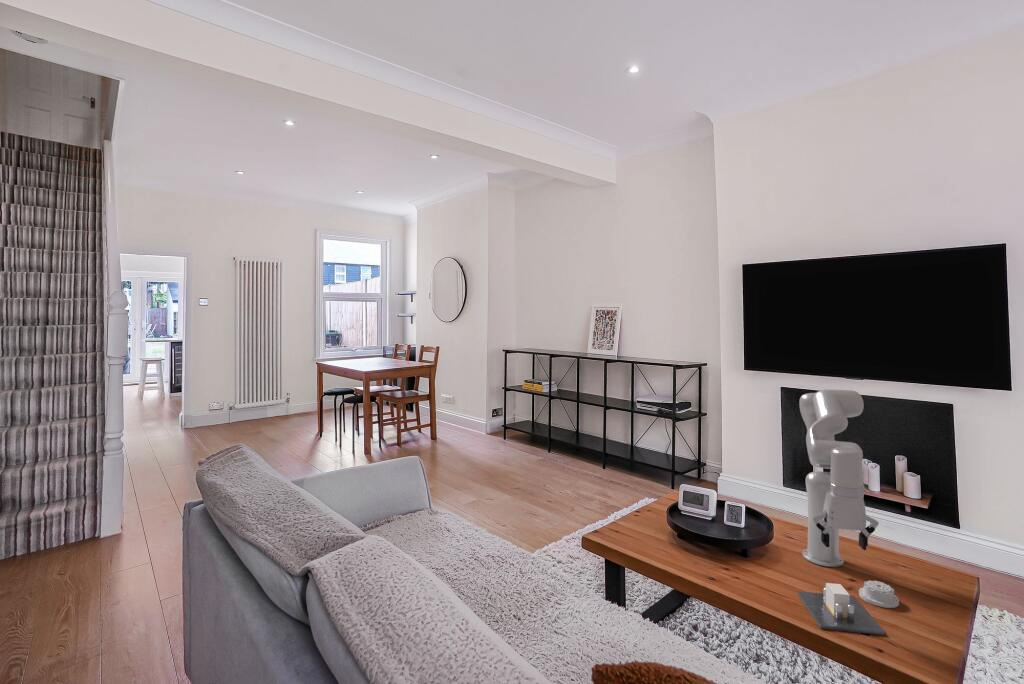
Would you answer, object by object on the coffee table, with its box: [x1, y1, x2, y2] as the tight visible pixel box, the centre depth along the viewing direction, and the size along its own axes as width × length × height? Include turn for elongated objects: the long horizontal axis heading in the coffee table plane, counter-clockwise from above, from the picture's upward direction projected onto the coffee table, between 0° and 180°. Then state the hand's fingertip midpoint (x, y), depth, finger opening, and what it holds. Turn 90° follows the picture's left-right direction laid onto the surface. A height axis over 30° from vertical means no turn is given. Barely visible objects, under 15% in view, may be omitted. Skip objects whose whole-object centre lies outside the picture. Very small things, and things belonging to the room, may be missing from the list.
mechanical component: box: [858, 580, 900, 609], centre depth 154 cm, size 10×4×10 cm
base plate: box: [797, 586, 886, 636], centre depth 147 cm, size 18×16×5 cm
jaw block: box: [825, 582, 851, 615], centre depth 147 cm, size 6×4×6 cm, turn 168°
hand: (844, 546), depth 148 cm, fingers open, 9 cm apart
